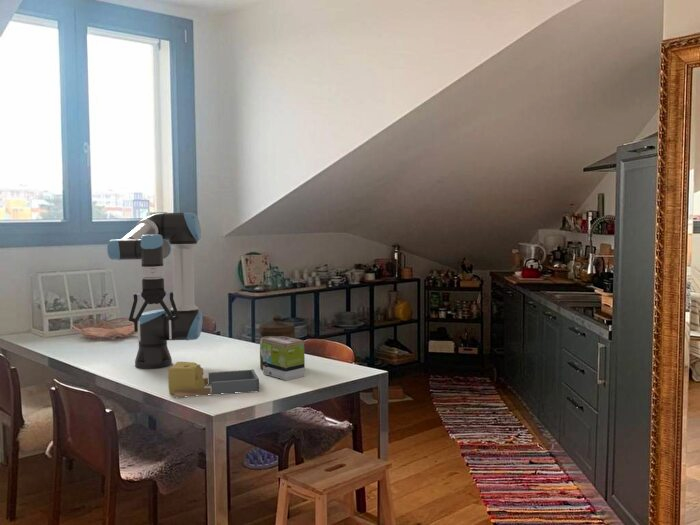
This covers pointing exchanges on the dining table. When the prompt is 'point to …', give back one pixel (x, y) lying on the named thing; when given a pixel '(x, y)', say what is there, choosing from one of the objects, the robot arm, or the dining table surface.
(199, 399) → the dining table surface
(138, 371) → the dining table surface
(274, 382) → the dining table surface
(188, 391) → the lane rails
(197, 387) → the cheese
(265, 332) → the wooden container
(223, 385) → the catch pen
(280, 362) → the tea box
